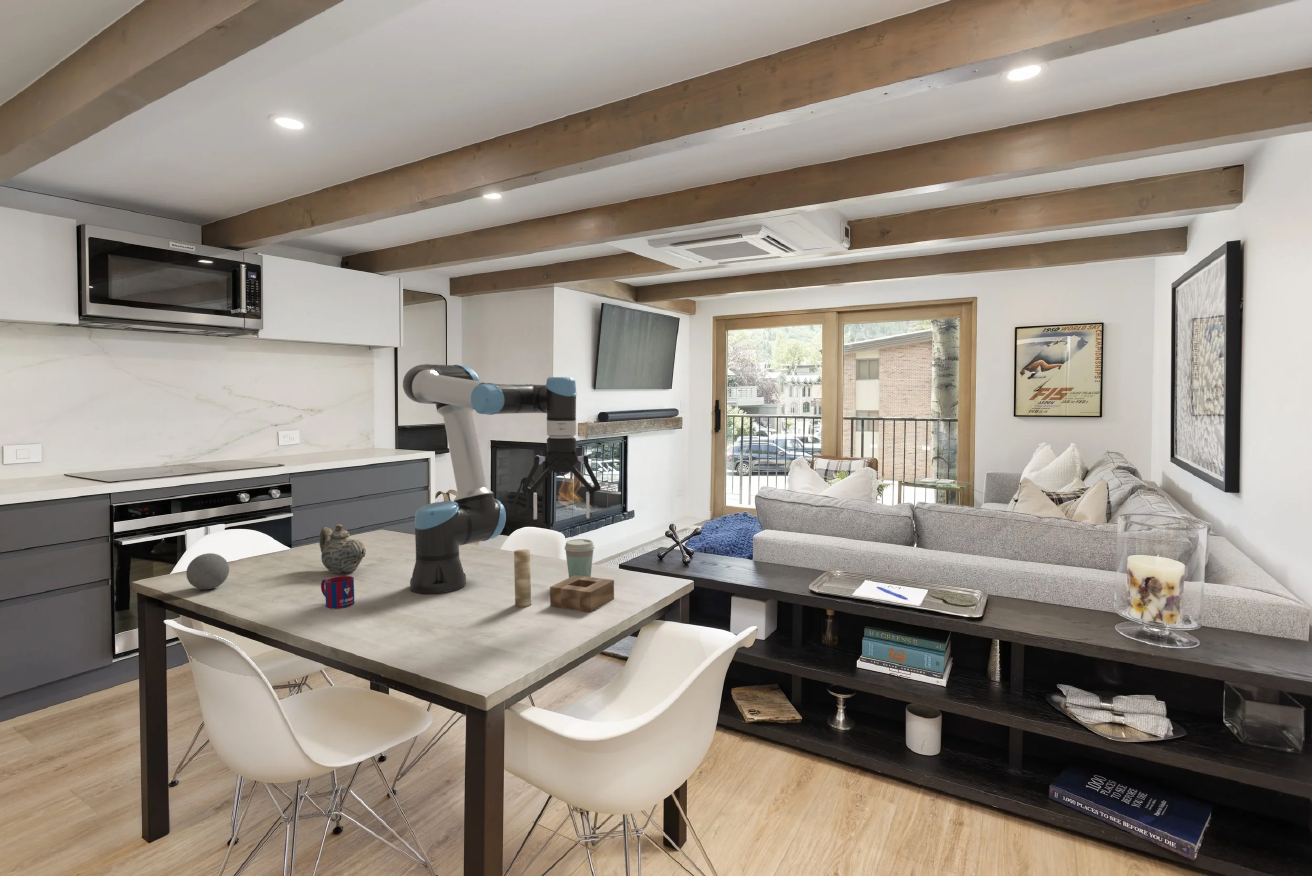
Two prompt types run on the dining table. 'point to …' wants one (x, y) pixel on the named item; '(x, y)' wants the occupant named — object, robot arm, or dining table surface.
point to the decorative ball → (207, 571)
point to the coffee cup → (579, 557)
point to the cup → (338, 591)
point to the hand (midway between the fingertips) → (561, 518)
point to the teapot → (340, 550)
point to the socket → (582, 593)
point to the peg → (522, 578)
